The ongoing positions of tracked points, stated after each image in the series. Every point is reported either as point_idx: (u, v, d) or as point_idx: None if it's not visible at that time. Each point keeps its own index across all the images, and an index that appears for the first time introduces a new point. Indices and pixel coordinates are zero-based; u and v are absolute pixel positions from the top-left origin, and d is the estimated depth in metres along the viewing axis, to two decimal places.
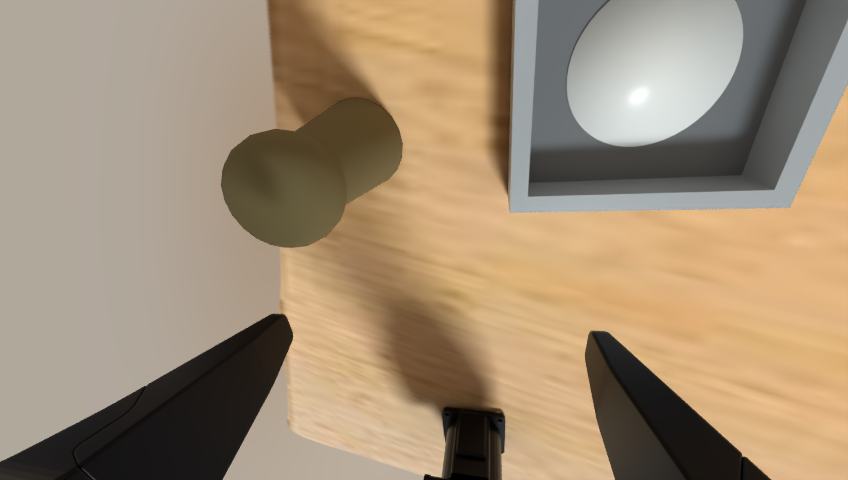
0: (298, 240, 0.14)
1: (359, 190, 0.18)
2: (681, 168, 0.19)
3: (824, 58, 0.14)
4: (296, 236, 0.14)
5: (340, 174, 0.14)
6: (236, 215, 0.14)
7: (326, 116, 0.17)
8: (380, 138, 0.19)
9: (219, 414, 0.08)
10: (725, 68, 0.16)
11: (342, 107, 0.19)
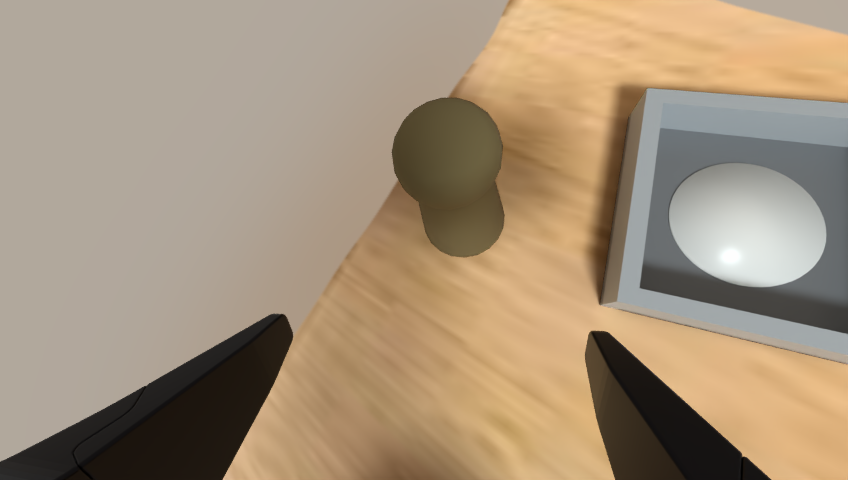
0: (450, 177, 0.13)
1: (481, 212, 0.18)
2: (798, 323, 0.18)
3: None
4: (451, 171, 0.13)
5: None
6: (402, 141, 0.14)
7: None
8: None
9: (219, 414, 0.08)
10: (816, 238, 0.19)
11: None
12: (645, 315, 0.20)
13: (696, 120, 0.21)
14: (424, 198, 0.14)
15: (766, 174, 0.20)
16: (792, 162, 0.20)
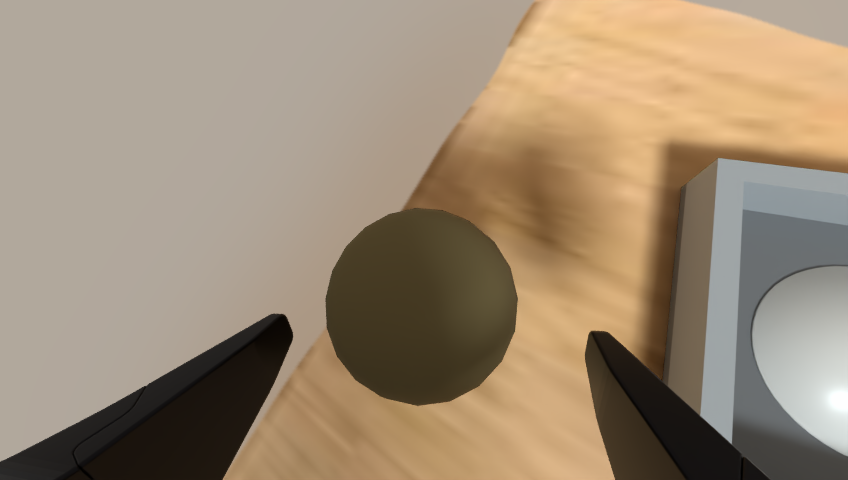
0: (419, 381, 0.07)
1: None
2: None
3: None
4: (423, 372, 0.07)
5: None
6: (338, 296, 0.08)
7: None
8: None
9: (219, 414, 0.08)
10: None
11: None
12: None
13: (788, 204, 0.15)
14: None
15: None
16: None
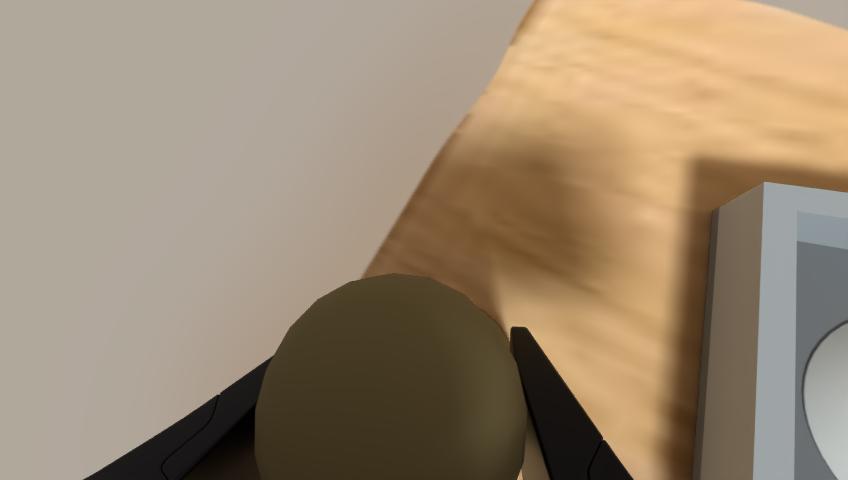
0: None
1: None
2: None
3: None
4: None
5: None
6: (268, 416, 0.05)
7: None
8: None
9: None
10: None
11: None
12: None
13: (847, 236, 0.12)
14: None
15: None
16: None
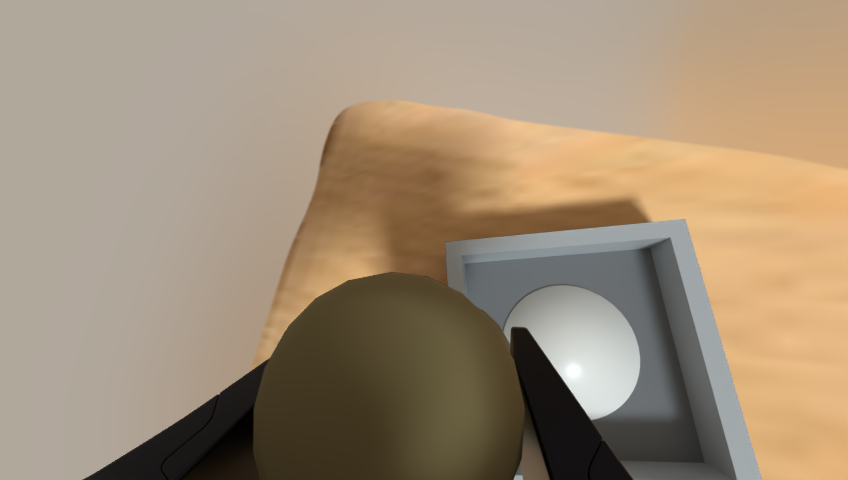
0: None
1: None
2: (638, 450, 0.18)
3: (697, 350, 0.17)
4: None
5: None
6: (266, 413, 0.05)
7: None
8: None
9: None
10: (631, 352, 0.19)
11: None
12: None
13: (500, 256, 0.21)
14: None
15: (576, 292, 0.21)
16: (594, 275, 0.21)
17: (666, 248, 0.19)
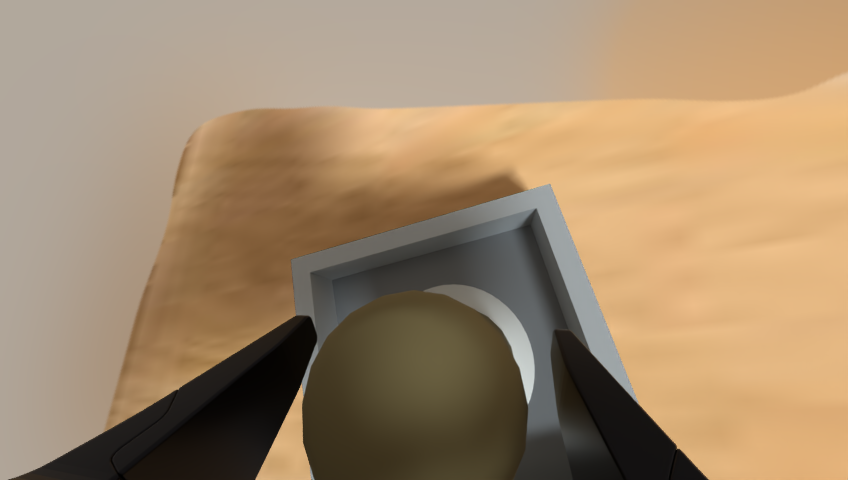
0: None
1: None
2: (544, 473, 0.14)
3: (583, 337, 0.14)
4: None
5: None
6: (315, 411, 0.07)
7: None
8: None
9: (250, 418, 0.08)
10: (523, 352, 0.16)
11: None
12: None
13: (363, 265, 0.18)
14: None
15: (456, 291, 0.18)
16: (474, 267, 0.18)
17: (537, 221, 0.16)
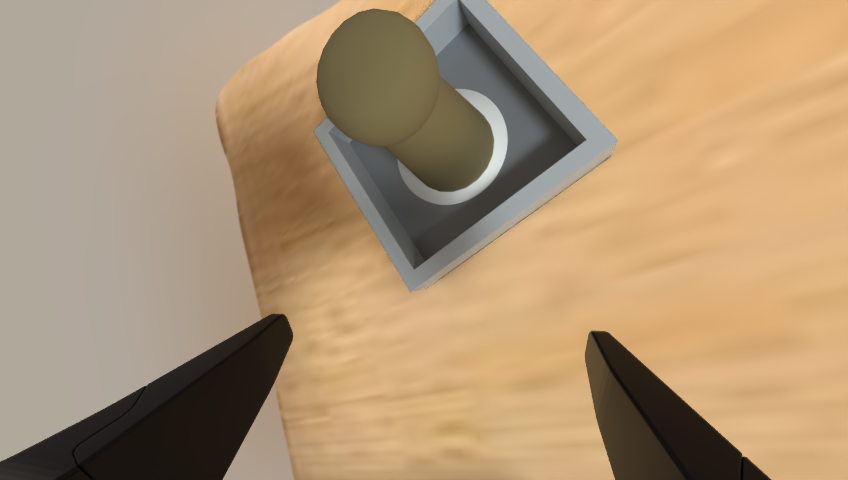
0: (380, 102, 0.12)
1: (449, 130, 0.16)
2: (532, 180, 0.20)
3: (518, 66, 0.18)
4: (379, 95, 0.12)
5: (435, 57, 0.13)
6: (322, 88, 0.13)
7: None
8: (473, 109, 0.18)
9: (219, 414, 0.08)
10: (492, 113, 0.21)
11: None
12: (455, 267, 0.22)
13: None
14: (370, 138, 0.13)
15: None
16: None
17: (465, 9, 0.20)
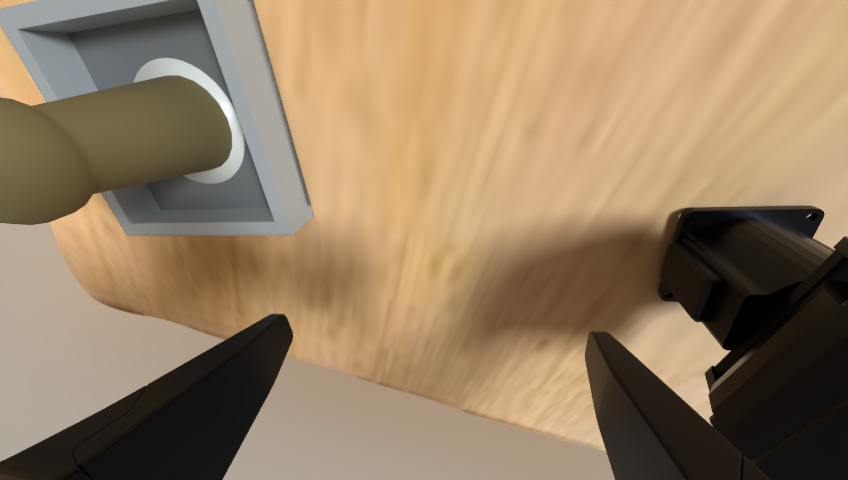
0: (4, 176, 0.12)
1: (120, 122, 0.16)
2: None
3: (107, 14, 0.17)
4: None
5: None
6: None
7: None
8: (135, 84, 0.18)
9: (219, 414, 0.08)
10: (167, 66, 0.20)
11: None
12: (303, 185, 0.22)
13: None
14: (59, 200, 0.13)
15: None
16: None
17: (38, 29, 0.18)
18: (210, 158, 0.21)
